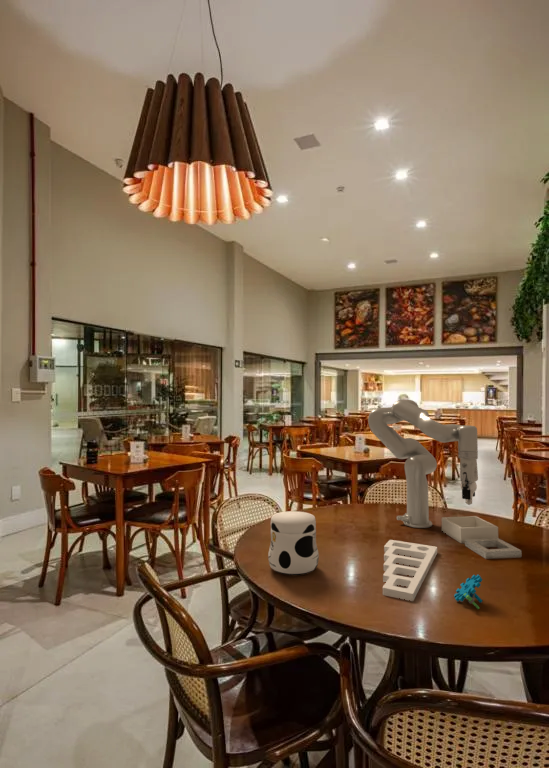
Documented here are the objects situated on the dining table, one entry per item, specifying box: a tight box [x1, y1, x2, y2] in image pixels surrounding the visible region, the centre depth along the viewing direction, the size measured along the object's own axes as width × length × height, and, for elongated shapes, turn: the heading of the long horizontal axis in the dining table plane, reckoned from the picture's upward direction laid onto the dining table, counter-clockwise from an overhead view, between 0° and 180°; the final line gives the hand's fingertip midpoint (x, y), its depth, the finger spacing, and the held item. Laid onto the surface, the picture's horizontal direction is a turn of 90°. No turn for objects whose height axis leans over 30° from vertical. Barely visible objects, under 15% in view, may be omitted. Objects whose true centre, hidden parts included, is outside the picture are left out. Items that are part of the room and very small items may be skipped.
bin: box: [441, 515, 499, 544], centre depth 188 cm, size 16×16×6 cm
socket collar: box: [464, 537, 523, 560], centre depth 170 cm, size 14×14×2 cm
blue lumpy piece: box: [453, 574, 483, 610], centre depth 129 cm, size 11×6×10 cm
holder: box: [382, 539, 438, 602], centre depth 154 cm, size 45×18×3 cm, turn 151°
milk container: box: [267, 510, 320, 577], centre depth 153 cm, size 17×17×18 cm
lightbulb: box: [459, 481, 478, 506], centre depth 188 cm, size 6×6×11 cm
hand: (468, 497), depth 188 cm, fingers closed on lightbulb, 6 cm apart
